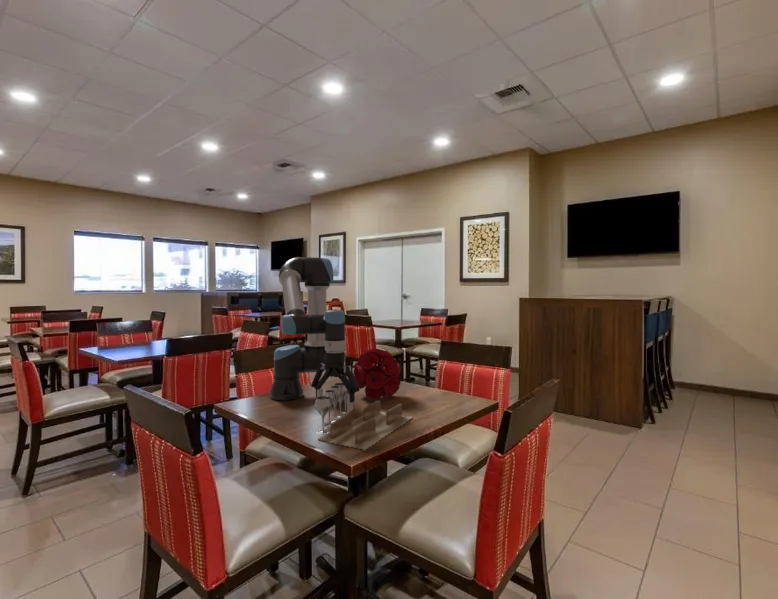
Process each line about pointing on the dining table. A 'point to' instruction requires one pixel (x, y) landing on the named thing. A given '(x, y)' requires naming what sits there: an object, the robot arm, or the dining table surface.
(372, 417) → the glass rack
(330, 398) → the goblet set
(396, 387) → the bouquet
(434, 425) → the dining table surface
